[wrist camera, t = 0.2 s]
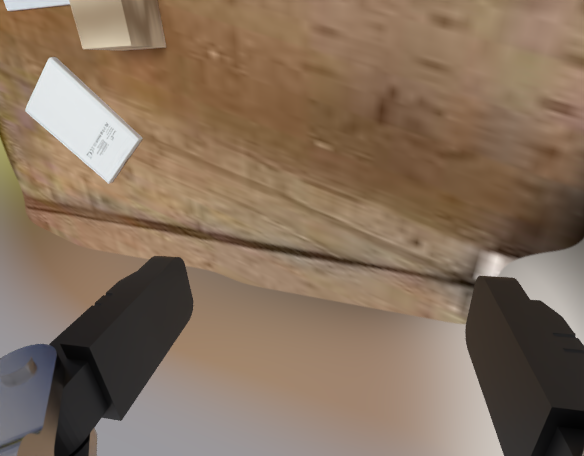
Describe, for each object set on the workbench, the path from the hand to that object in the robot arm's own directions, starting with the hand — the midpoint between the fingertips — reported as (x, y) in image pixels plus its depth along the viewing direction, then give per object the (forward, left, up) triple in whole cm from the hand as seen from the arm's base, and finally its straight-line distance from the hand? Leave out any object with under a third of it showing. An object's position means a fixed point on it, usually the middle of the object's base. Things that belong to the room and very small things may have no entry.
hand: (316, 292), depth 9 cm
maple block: (-10, -22, -29) cm, 38 cm away
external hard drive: (0, -32, -30) cm, 44 cm away
